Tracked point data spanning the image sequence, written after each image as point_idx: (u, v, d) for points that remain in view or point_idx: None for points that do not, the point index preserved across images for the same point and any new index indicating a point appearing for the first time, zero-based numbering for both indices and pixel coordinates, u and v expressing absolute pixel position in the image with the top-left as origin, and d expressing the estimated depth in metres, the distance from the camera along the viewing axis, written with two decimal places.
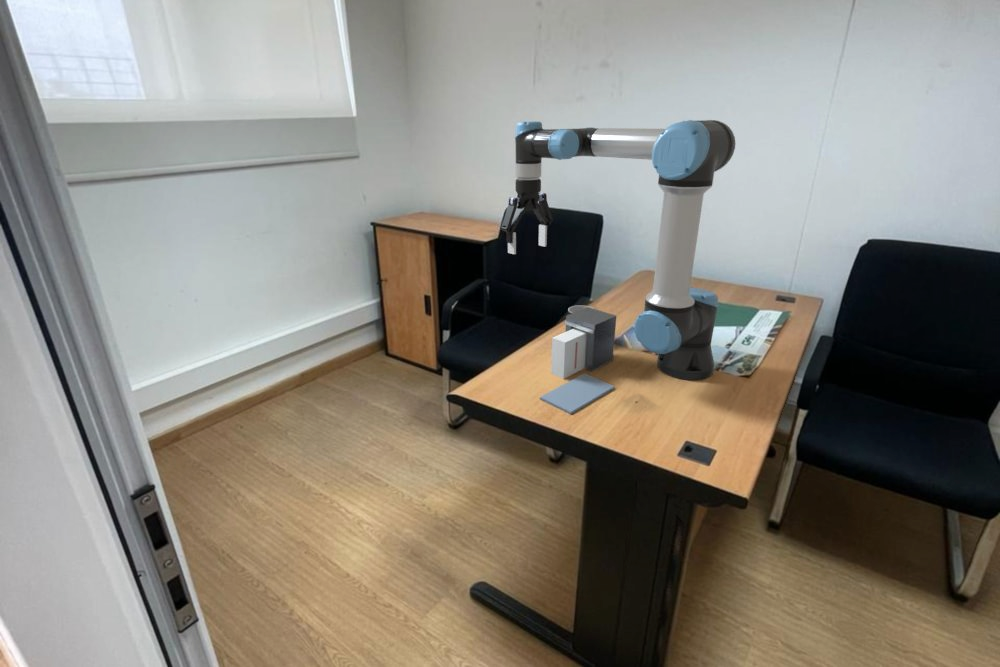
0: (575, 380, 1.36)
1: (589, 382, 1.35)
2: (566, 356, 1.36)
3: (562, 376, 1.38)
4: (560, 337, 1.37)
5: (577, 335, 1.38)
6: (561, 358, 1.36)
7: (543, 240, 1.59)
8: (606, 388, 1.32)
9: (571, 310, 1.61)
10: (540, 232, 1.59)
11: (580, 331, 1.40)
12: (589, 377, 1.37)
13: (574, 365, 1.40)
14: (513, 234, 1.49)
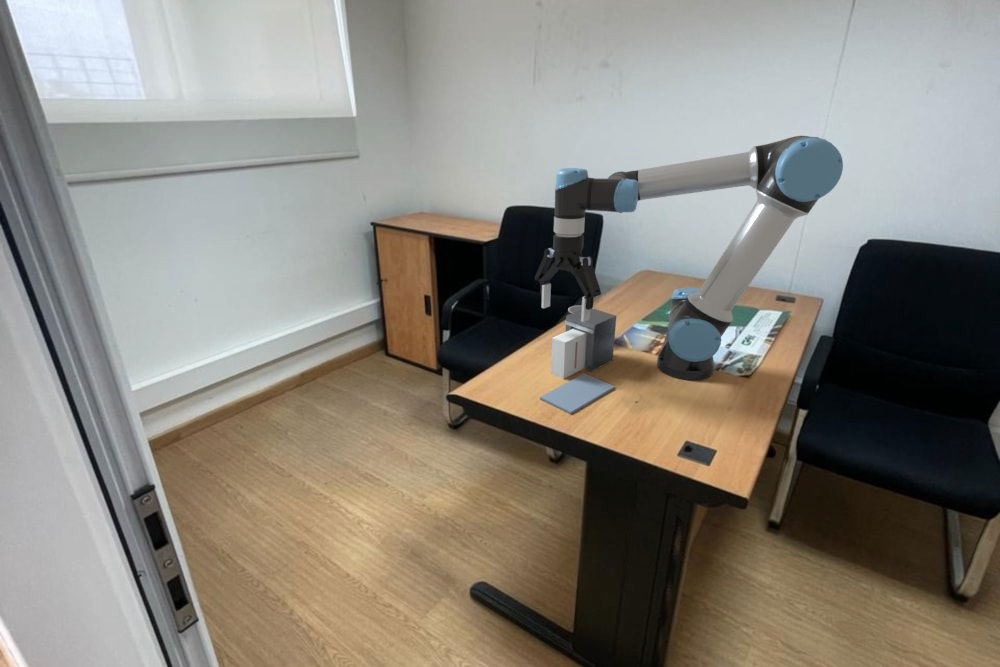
0: (575, 380, 1.36)
1: (589, 382, 1.35)
2: (566, 356, 1.36)
3: (562, 376, 1.38)
4: (560, 337, 1.37)
5: (577, 335, 1.38)
6: (561, 358, 1.36)
7: None
8: (606, 388, 1.32)
9: (571, 310, 1.61)
10: None
11: (580, 331, 1.40)
12: (589, 377, 1.37)
13: (574, 365, 1.40)
14: None
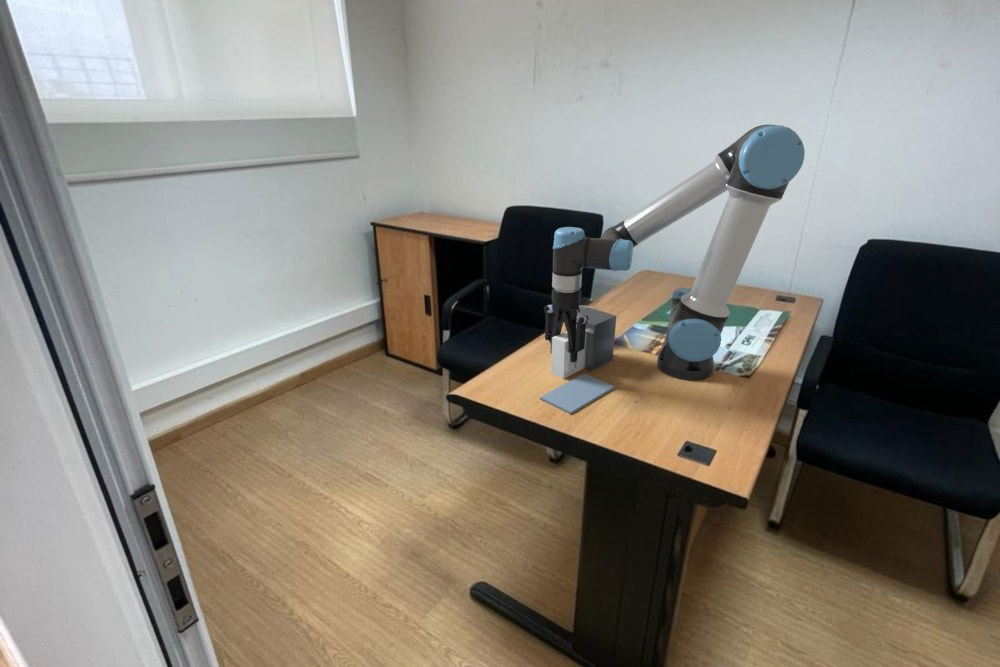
0: (575, 380, 1.36)
1: (589, 382, 1.35)
2: (566, 356, 1.36)
3: (562, 376, 1.38)
4: (560, 337, 1.37)
5: None
6: (561, 358, 1.36)
7: None
8: (606, 388, 1.32)
9: None
10: None
11: None
12: (589, 377, 1.37)
13: None
14: None
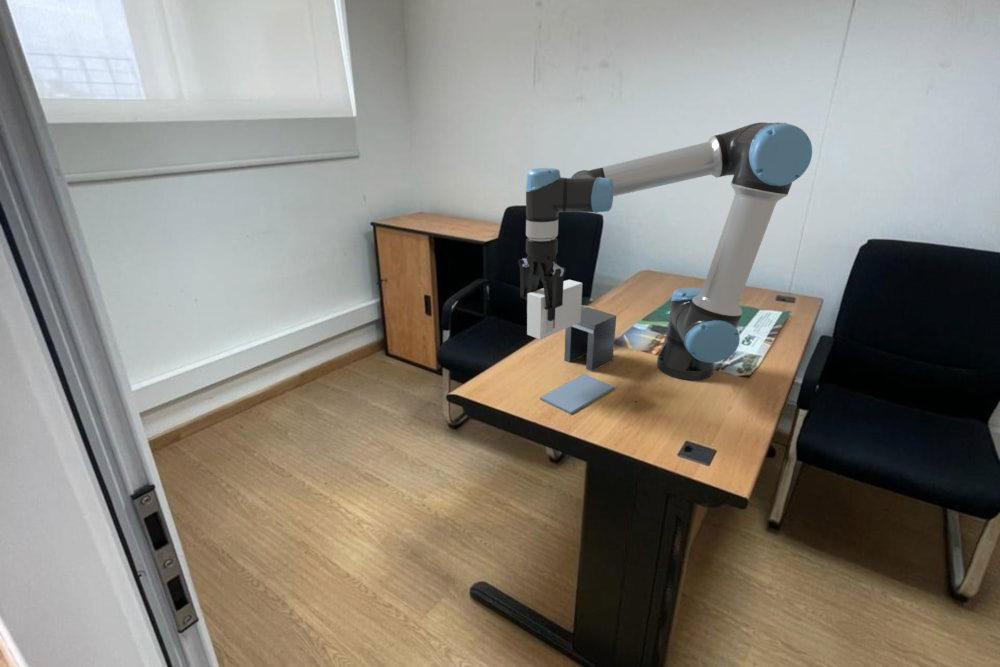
0: (575, 380, 1.36)
1: (589, 382, 1.35)
2: (542, 313, 1.24)
3: (539, 336, 1.26)
4: (536, 293, 1.25)
5: None
6: (537, 316, 1.24)
7: None
8: (606, 388, 1.32)
9: None
10: None
11: None
12: (589, 377, 1.37)
13: None
14: None
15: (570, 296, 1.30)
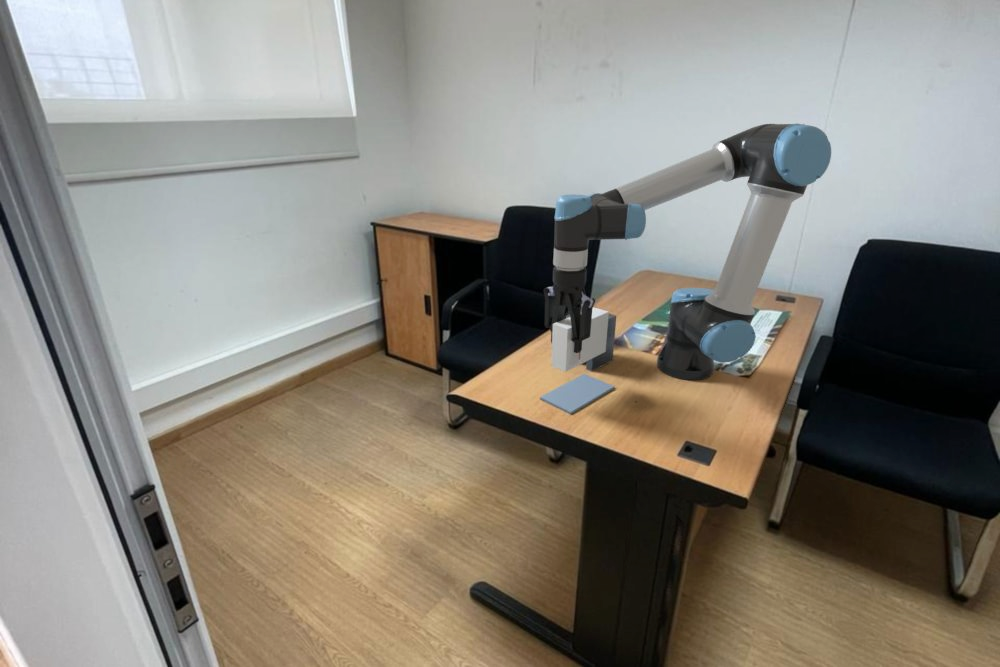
0: (575, 380, 1.36)
1: (589, 382, 1.35)
2: (568, 345, 1.18)
3: (564, 368, 1.20)
4: (562, 323, 1.19)
5: None
6: (563, 347, 1.18)
7: None
8: (606, 388, 1.32)
9: None
10: None
11: None
12: (589, 377, 1.37)
13: None
14: None
15: (597, 326, 1.24)
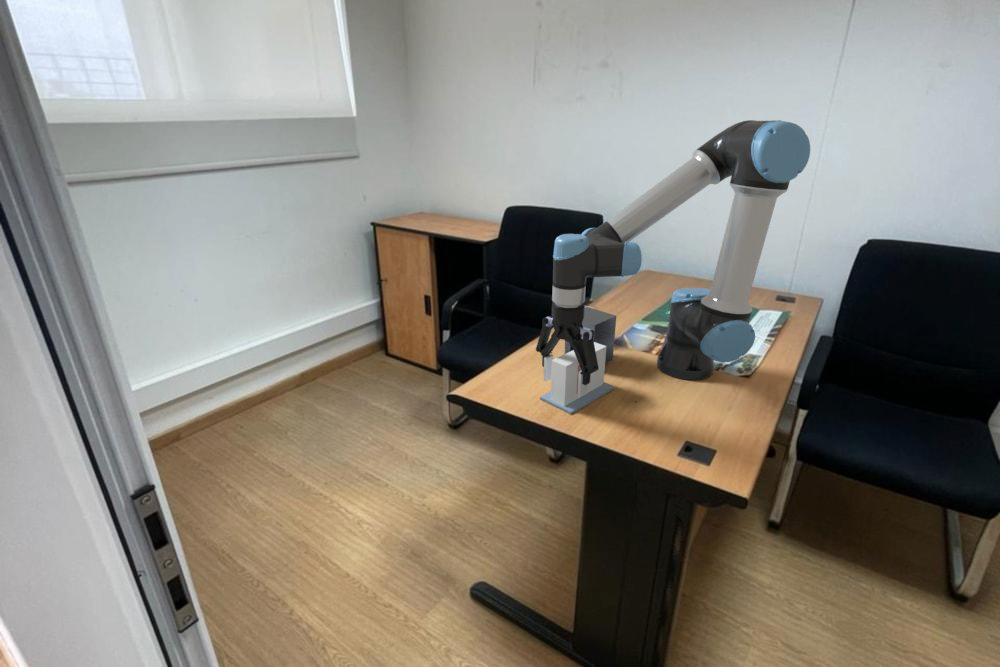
0: None
1: None
2: (567, 381, 1.22)
3: (563, 403, 1.24)
4: (561, 360, 1.23)
5: None
6: (561, 383, 1.22)
7: None
8: (606, 388, 1.32)
9: None
10: None
11: None
12: None
13: (576, 390, 1.26)
14: None
15: None
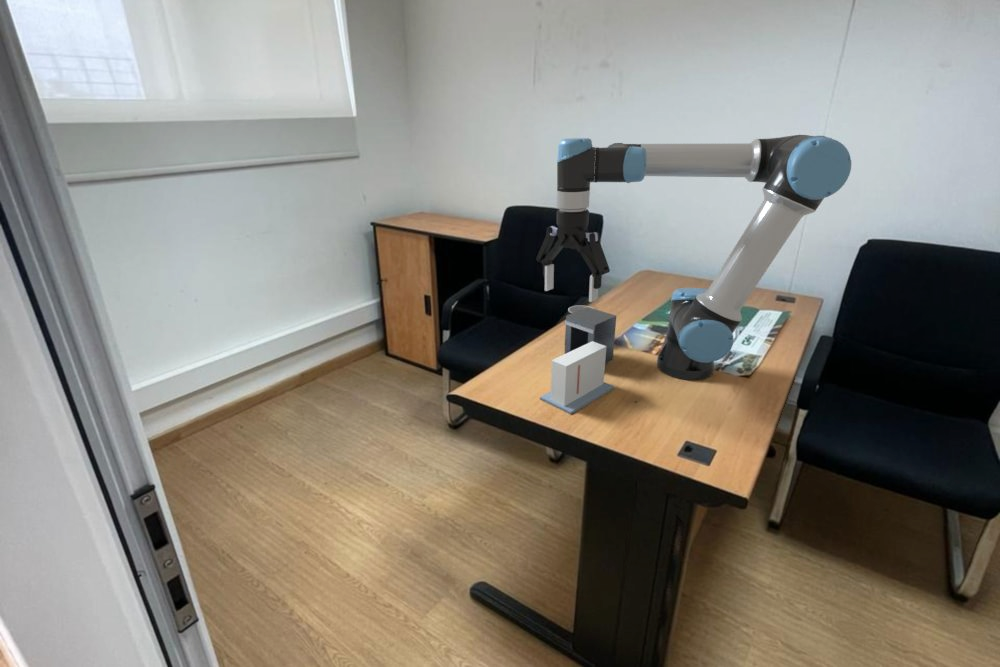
0: None
1: None
2: (567, 381, 1.22)
3: (563, 403, 1.24)
4: (561, 360, 1.23)
5: (580, 357, 1.24)
6: (561, 383, 1.22)
7: None
8: (606, 388, 1.32)
9: (571, 310, 1.61)
10: None
11: (583, 352, 1.26)
12: None
13: (576, 390, 1.26)
14: None
15: (594, 360, 1.28)
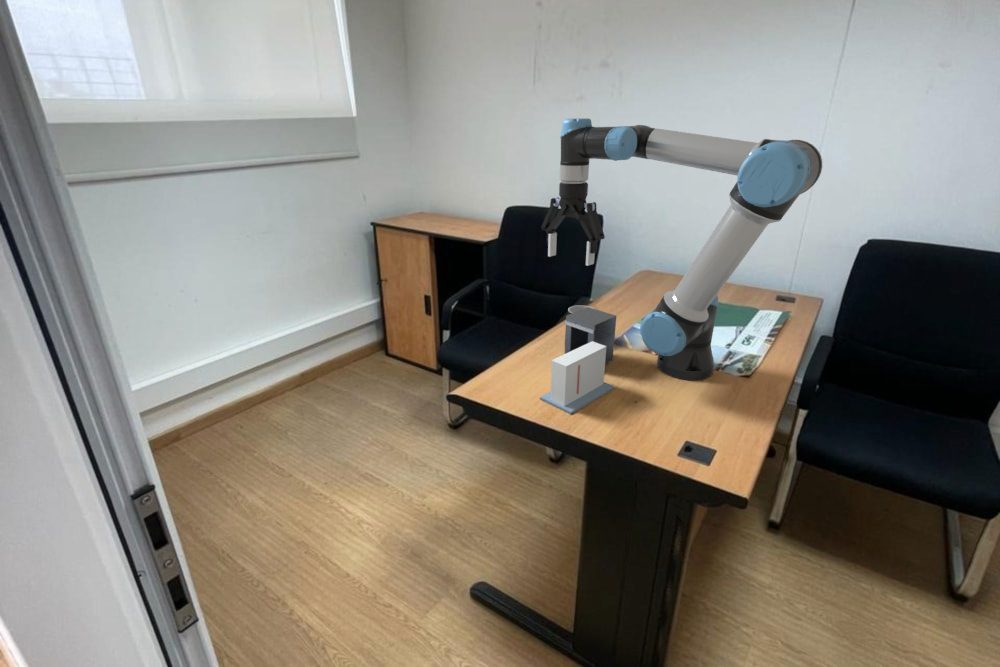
0: None
1: None
2: (567, 381, 1.22)
3: (563, 403, 1.24)
4: (561, 360, 1.23)
5: (580, 357, 1.24)
6: (561, 383, 1.22)
7: None
8: (606, 388, 1.32)
9: (571, 310, 1.61)
10: None
11: (583, 352, 1.26)
12: None
13: (576, 390, 1.26)
14: None
15: (594, 360, 1.28)
